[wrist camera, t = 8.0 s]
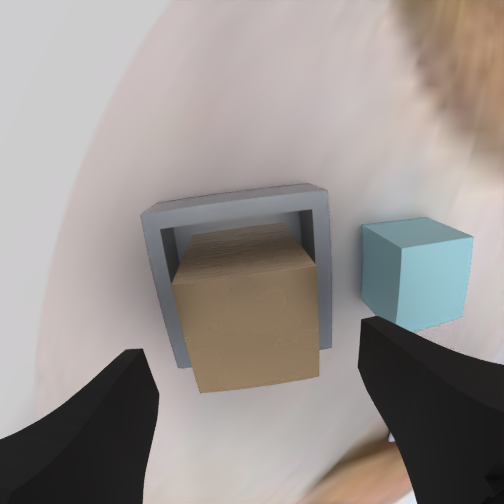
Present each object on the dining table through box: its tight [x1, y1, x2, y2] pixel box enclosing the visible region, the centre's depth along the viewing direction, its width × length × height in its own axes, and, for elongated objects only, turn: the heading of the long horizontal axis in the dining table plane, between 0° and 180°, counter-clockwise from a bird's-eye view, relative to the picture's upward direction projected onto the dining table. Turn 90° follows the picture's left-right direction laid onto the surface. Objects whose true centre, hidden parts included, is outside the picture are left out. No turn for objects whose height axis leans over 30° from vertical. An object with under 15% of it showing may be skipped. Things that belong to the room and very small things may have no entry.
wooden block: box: [171, 222, 319, 393], centre depth 15 cm, size 5×5×7 cm
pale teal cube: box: [361, 218, 473, 332], centre depth 17 cm, size 5×5×5 cm
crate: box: [141, 183, 332, 368], centre depth 17 cm, size 9×9×4 cm
